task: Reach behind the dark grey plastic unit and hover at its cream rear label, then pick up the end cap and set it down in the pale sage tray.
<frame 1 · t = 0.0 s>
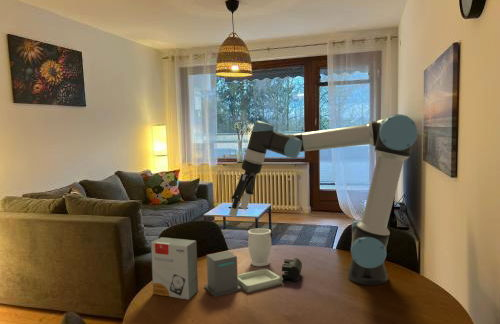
hand: (238, 212, 148), 28 cm above the table, tool tilted 20°, fingers open, 13 cm apart
jar: (260, 263, 169), on the table
hard drive box: (175, 293, 140), on the table
unit: (222, 288, 143), on the table
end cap: (292, 278, 151), on the table
tray: (257, 282, 147), on the table
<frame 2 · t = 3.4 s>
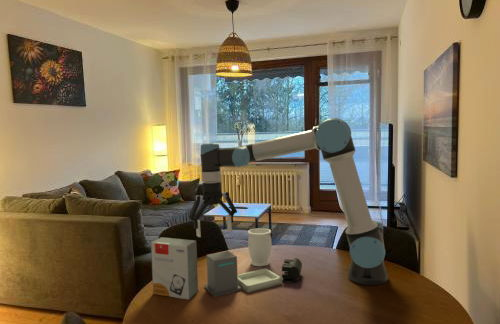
hand: (214, 233, 152), 18 cm above the table, tool pointing down, fingers open, 13 cm apart
nothing on the table moved.
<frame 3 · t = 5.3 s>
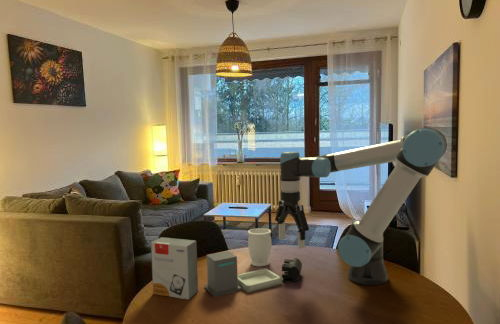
hand: (291, 243, 150), 14 cm above the table, tool pointing down, fingers open, 13 cm apart
nothing on the table moved.
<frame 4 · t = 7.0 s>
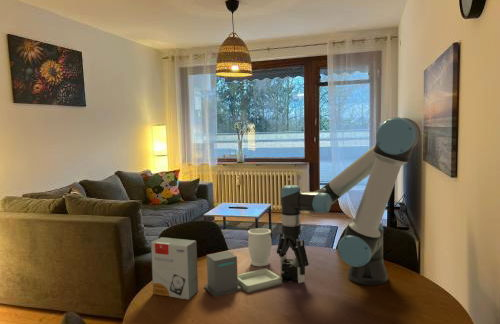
hand: (292, 276, 151), 0 cm above the table, tool pointing down, fingers closed on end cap, 12 cm apart
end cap: (292, 278, 152), on the table, touching gripper
everything else where it was.
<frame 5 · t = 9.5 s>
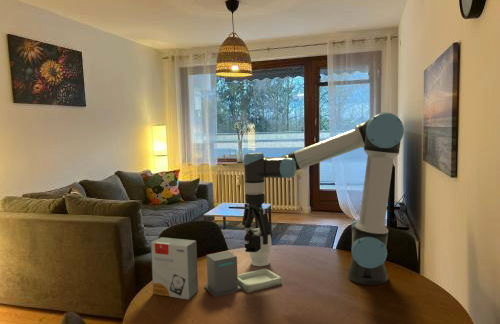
hand: (256, 247, 146), 14 cm above the table, tool pointing down, fingers closed on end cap, 12 cm apart
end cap: (256, 249, 146), point 14 cm above the table, touching gripper
everything else where it was.
when the fingers open (3 cm above the table, at t = 12.0 s): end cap drops 1 cm, resting on tray.
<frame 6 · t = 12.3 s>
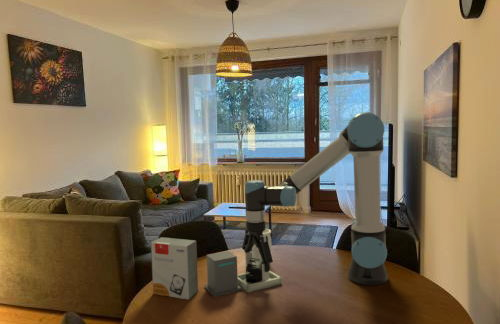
hand: (257, 273, 147), 4 cm above the table, tool pointing down, fingers open, 13 cm apart
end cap: (257, 278, 148), point 2 cm above the table, touching tray
everything else where it was.
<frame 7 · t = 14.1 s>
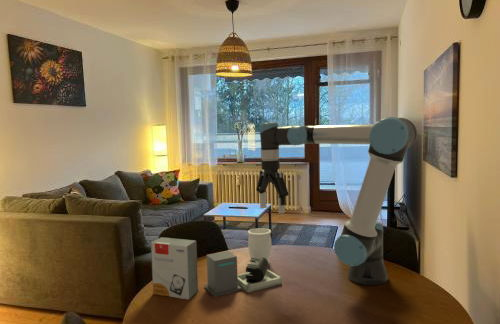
hand: (272, 210, 157), 26 cm above the table, tool pointing down, fingers open, 13 cm apart
nothing on the table moved.
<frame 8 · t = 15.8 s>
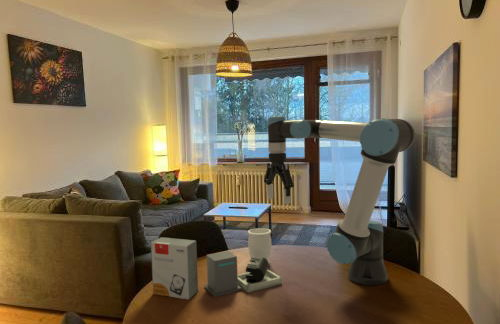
hand: (278, 201, 163), 29 cm above the table, tool pointing down, fingers open, 13 cm apart
nothing on the table moved.
at the end: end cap inside the target area on the tray (0.4 cm from its centre), point 1.7 cm above the tray's base; the gripper is holding nothing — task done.
